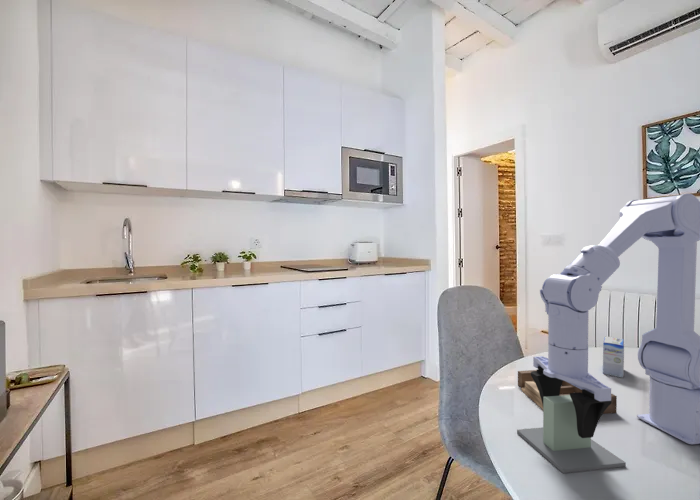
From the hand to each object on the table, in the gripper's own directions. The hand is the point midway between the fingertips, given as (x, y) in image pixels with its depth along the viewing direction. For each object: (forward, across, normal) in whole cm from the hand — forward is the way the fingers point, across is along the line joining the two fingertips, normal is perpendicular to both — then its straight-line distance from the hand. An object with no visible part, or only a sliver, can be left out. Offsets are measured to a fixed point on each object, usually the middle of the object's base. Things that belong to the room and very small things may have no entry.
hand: (567, 423), depth 57 cm
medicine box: (+4, -29, +40) cm, 49 cm away
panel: (+4, 0, 0) cm, 4 cm away
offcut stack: (+5, -16, +7) cm, 18 cm away
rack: (+4, -17, +14) cm, 22 cm away
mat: (+4, 0, 0) cm, 4 cm away
